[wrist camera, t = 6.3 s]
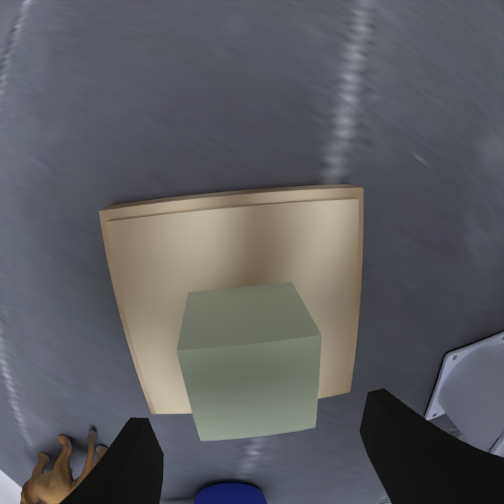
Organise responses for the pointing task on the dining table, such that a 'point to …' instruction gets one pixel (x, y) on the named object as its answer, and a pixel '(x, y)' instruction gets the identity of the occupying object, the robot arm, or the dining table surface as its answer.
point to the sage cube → (250, 361)
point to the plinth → (235, 270)
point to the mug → (230, 494)
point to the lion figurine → (58, 474)
